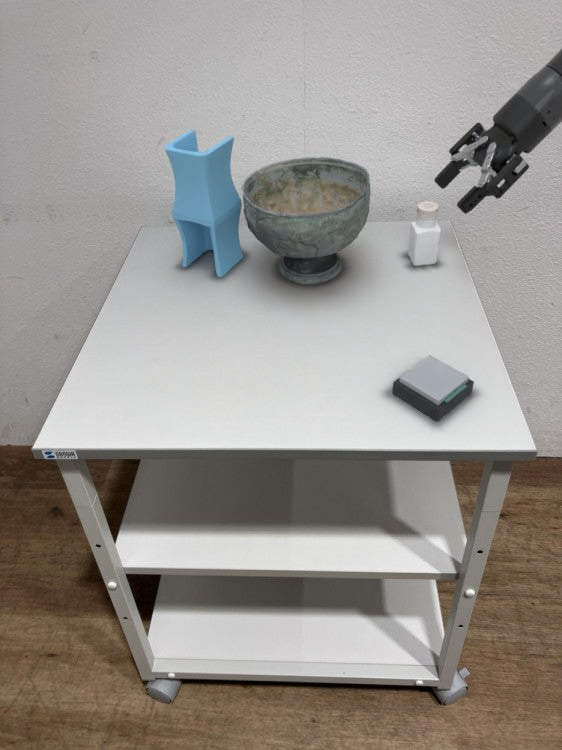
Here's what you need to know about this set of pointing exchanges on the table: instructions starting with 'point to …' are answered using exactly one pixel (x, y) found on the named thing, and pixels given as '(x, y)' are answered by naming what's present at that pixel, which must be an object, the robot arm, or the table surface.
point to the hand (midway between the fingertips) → (449, 197)
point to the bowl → (307, 213)
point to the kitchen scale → (433, 387)
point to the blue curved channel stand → (205, 201)
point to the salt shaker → (424, 235)
